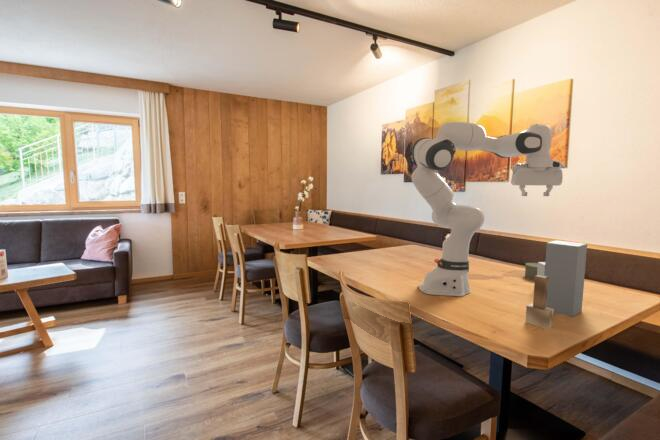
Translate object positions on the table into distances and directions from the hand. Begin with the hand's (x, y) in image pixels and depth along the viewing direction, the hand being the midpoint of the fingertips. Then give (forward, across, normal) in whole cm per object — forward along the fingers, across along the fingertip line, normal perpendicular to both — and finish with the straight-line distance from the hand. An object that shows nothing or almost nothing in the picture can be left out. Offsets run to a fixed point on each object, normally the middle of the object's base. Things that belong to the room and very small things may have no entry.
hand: (535, 196), depth 144 cm
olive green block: (+44, +20, +26) cm, 54 cm away
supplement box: (+43, +11, +4) cm, 45 cm away
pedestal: (+43, +1, -20) cm, 48 cm away
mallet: (+35, -18, -35) cm, 52 cm away
